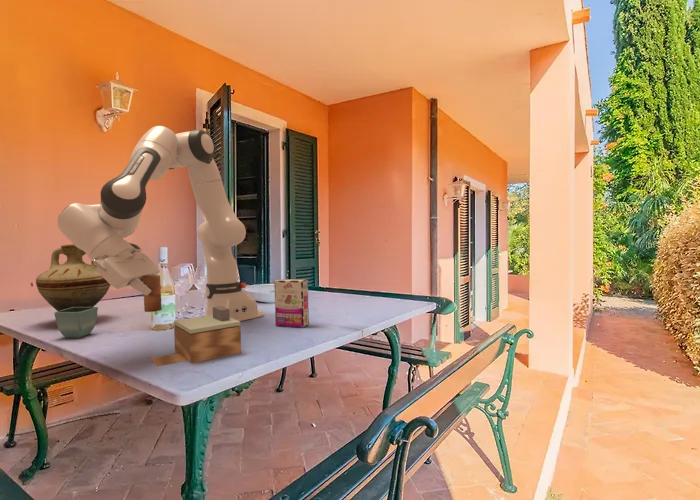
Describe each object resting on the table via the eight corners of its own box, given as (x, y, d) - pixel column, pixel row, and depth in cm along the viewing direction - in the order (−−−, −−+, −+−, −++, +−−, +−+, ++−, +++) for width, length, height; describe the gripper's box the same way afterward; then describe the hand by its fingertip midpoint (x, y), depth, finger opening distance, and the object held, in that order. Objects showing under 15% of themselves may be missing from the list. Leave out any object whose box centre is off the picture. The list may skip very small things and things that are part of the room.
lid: (220, 317, 116) (220, 303, 116) (240, 325, 105) (240, 310, 105) (174, 324, 108) (173, 309, 108) (190, 333, 97) (189, 317, 97)
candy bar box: (309, 325, 141) (308, 279, 140) (303, 328, 136) (302, 280, 135) (281, 323, 144) (280, 278, 143) (274, 326, 139) (273, 280, 139)
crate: (221, 345, 117) (220, 318, 116) (241, 355, 106) (240, 326, 105) (147, 359, 104) (145, 329, 104) (161, 373, 93) (159, 340, 93)
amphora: (31, 323, 150) (27, 245, 149) (101, 313, 168) (98, 243, 167) (47, 333, 134) (42, 245, 133) (122, 320, 152) (119, 243, 151)
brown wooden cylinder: (159, 308, 106) (157, 274, 105) (163, 310, 102) (161, 275, 102) (142, 310, 103) (141, 276, 103) (146, 312, 100) (144, 277, 100)
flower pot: (81, 339, 125) (80, 311, 125) (54, 340, 125) (53, 312, 125) (99, 332, 134) (98, 306, 134) (74, 333, 134) (73, 306, 134)
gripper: (99, 248, 91) (144, 288, 92) (140, 245, 112) (177, 278, 113) (80, 267, 91) (125, 308, 92) (125, 261, 112) (162, 294, 113)
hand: (154, 291), depth 103 cm, fingers closed on brown wooden cylinder, 4 cm apart
